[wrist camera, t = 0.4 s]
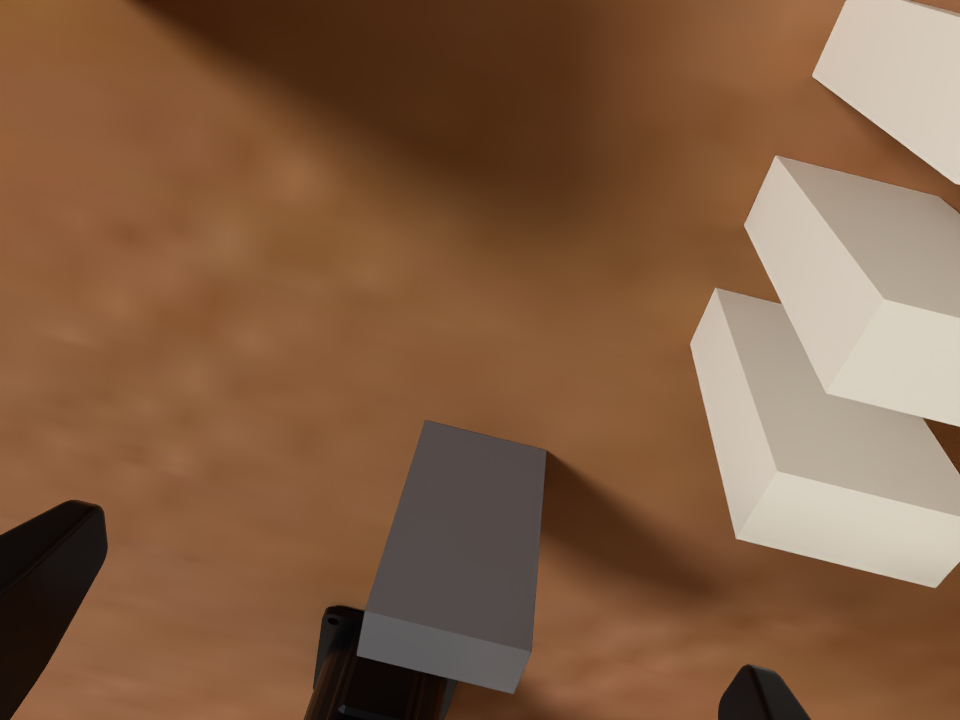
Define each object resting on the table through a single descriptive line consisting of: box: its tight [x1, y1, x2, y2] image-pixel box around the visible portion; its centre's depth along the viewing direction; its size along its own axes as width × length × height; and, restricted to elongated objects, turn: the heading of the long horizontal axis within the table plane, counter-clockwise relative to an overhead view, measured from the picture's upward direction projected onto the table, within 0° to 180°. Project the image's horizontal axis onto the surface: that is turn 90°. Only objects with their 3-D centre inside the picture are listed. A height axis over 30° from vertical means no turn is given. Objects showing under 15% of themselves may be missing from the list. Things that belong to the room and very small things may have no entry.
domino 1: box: [357, 420, 547, 694], centre depth 22 cm, size 2×4×8 cm, turn 78°
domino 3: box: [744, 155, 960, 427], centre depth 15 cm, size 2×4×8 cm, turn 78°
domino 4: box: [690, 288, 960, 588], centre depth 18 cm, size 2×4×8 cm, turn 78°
